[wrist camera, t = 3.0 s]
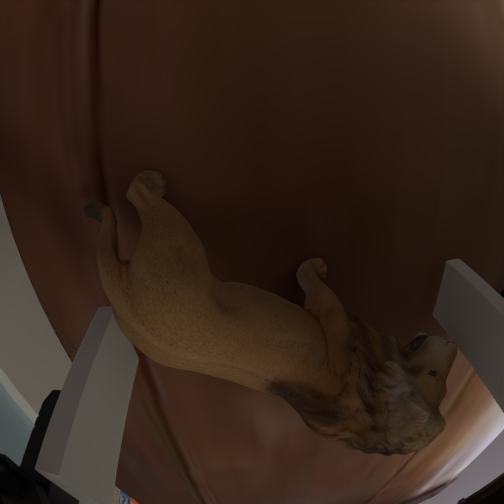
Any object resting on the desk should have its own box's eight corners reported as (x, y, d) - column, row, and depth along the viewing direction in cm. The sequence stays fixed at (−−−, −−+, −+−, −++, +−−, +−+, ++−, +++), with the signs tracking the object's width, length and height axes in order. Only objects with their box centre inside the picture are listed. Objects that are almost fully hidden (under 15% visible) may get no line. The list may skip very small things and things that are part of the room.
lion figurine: (397, 262, 15) (503, 392, 7) (345, 339, 17) (404, 476, 9) (103, 148, 11) (-62, 245, 3) (79, 258, 13) (-16, 410, 5)
